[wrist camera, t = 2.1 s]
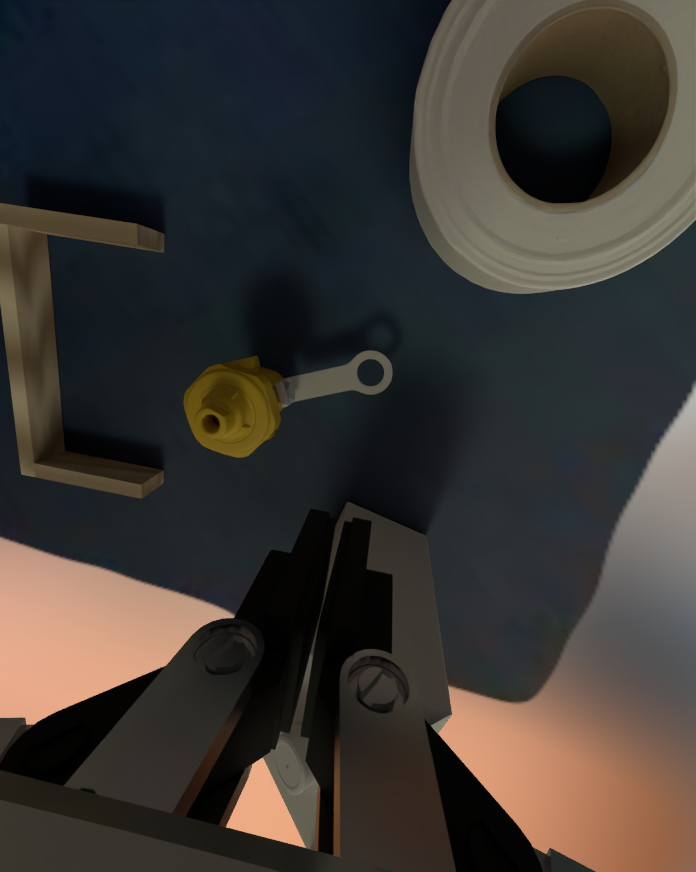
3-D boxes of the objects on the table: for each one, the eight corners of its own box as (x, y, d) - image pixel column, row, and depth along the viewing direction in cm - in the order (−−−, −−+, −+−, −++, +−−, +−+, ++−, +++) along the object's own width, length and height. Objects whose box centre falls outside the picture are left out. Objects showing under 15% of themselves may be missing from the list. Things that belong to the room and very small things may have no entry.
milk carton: (426, 534, 31) (470, 827, 13) (390, 597, 34) (385, 923, 15) (347, 499, 31) (282, 747, 13) (316, 565, 33) (224, 854, 15)
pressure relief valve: (229, 360, 29) (147, 381, 19) (385, 324, 27) (379, 327, 17) (250, 429, 30) (183, 479, 21) (399, 399, 28) (401, 441, 19)
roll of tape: (664, 281, 24) (739, 271, 19) (413, 305, 27) (418, 302, 21) (709, -41, 20) (823, -171, 15) (403, 20, 22) (406, -74, 17)
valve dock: (29, 213, 27) (-13, 201, 25) (164, 233, 27) (136, 223, 24) (53, 461, 33) (21, 474, 31) (163, 482, 33) (141, 498, 30)
